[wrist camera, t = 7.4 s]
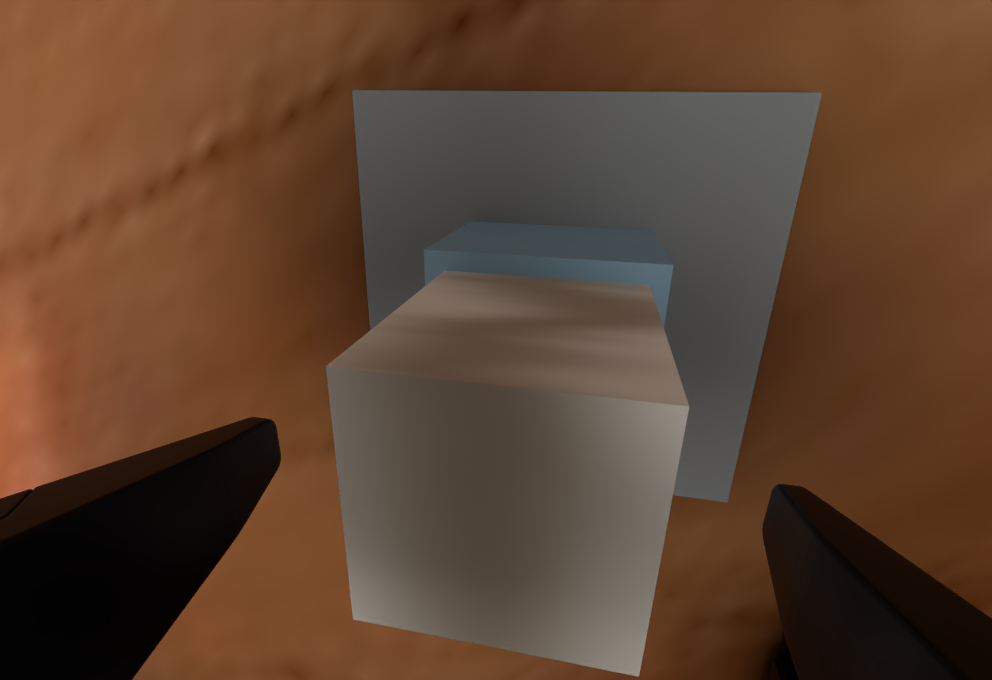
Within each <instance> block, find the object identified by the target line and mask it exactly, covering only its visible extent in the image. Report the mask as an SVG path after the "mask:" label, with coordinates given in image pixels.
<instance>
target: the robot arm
mask: <svg viewBox="0 0 992 680" xmlns="http://www.w3.org/2000/svg"><path fill="white" fill-rule="evenodd" d="M280 461H281V453H280V447H279V440H278V434H277V428H276V425H275V423H274V421H272V420H271V419H265V418H257V417H251V418H247V419H244V420H241V421H238V422H235V423H232V424H229V425H226V426H223V427H220V428H216V429H213V430H210V431H207V432H204V433H201V434H198V435H195V436H192V437H189V438H186V439H183V440H180V441H176V442H173V443H170V444H167V445H164V446H161V447H158V448H155V449H152V450H149V451H146V452H143V453H140V454H137V455H133V456H130V457H127V458H124V459H121V460H118V461H115V462H112V463H109V464H106V465H103V466H100V467H97V468H93V469H90V470H87V471H84V472H81V473H78V474H75V475H72V476H69V477H66V478H63V479H60V480H57V481H53V482H50V483H47V484H44V485H41V486H38V487H36V488H35V489H34V490H32V489H29V490H26V491H22V492H19V493H16V494H13V495H10V496H7V497H4V498H1V499H0V680H132V679H133V678H134V676H135V675H136V674H137V672H138V671H139V670H140V668H141V667H142V665H143V664H144V663H145V661H146V660H147V659H148V657H149V656H150V655H151V653H152V652H153V651H154V649H155V648H156V646H157V645H158V644H159V642H160V641H161V640H162V638H163V637H164V636H165V634H166V633H167V632H168V630H169V629H170V627H171V626H172V625H173V623H174V622H175V621H176V619H177V618H178V617H179V615H180V614H181V612H182V611H183V610H184V608H185V607H186V606H187V604H188V603H189V602H190V600H191V599H192V598H193V596H194V595H195V593H196V592H197V591H198V589H199V588H200V587H201V585H202V584H203V583H204V581H205V580H206V578H207V577H208V576H209V574H210V573H211V572H212V570H213V569H214V568H215V566H216V565H217V564H218V562H219V561H220V559H221V558H222V557H223V555H224V554H225V553H226V551H227V550H228V549H229V547H230V546H231V544H232V543H233V542H234V540H235V539H236V537H237V536H238V534H239V533H240V531H241V530H242V528H243V526H244V525H245V523H246V522H247V520H248V518H249V517H250V515H251V513H252V511H253V510H254V508H255V506H256V505H257V503H258V501H259V500H260V498H261V496H262V495H263V493H264V491H265V490H266V488H267V486H268V485H269V483H270V481H271V480H272V478H273V476H274V475H275V473H276V471H277V470H278V467H279V465H280ZM763 541H764V545H765V550H766V555H767V560H768V564H769V569H770V574H771V578H772V583H773V588H774V592H775V597H776V602H777V606H778V611H779V616H780V620H781V624H782V628H783V631H784V635H785V636H784V640H783V643H782V646H781V649H780V652H779V655H778V656H777V657H776V658H775V659H774V660H773V661H772V665H771V668H770V671H769V674H768V677H767V680H992V618H990V617H989V616H987V615H986V614H984V613H983V612H982V611H980V610H979V609H977V608H976V607H974V606H973V605H972V604H970V603H969V602H967V601H966V600H964V599H963V598H962V597H960V596H959V595H957V594H956V593H954V592H953V591H952V590H950V589H949V588H947V587H946V586H944V585H943V584H942V583H940V582H939V581H937V580H936V579H934V578H933V577H932V576H930V575H929V574H927V573H926V572H924V571H923V570H922V569H920V568H919V567H917V566H916V565H914V564H913V563H912V562H910V561H909V560H907V559H906V558H904V557H903V556H902V555H900V554H899V553H897V552H896V551H894V550H893V549H892V548H890V547H889V546H887V545H886V544H884V543H883V542H882V541H880V540H879V539H877V538H876V537H874V536H873V535H872V534H870V533H869V532H867V531H866V530H864V529H863V528H862V527H860V526H859V525H857V524H856V523H854V522H853V521H852V520H850V519H849V518H847V517H846V516H844V515H843V514H842V513H840V512H839V511H837V510H836V509H834V508H833V507H832V506H830V505H829V504H827V503H826V502H824V501H823V500H822V499H820V498H819V497H817V496H816V495H814V494H813V493H812V492H810V491H809V490H807V489H806V488H804V487H801V486H793V485H785V484H778V485H776V486H775V487H774V488H773V490H772V492H771V496H770V500H769V504H768V507H767V511H766V515H765V518H764V522H763Z"/></svg>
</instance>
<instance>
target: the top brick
mask: <svg viewBox="0 0 992 680" xmlns="http://www.w3.org/2000/svg"><path fill="white" fill-rule="evenodd" d="M326 372H327V381H328V390H329V400H330V409H331V418H332V427H333V437H334V446H335V455H336V464H337V474H338V483H339V492H340V501H341V511H342V520H343V529H344V538H345V548H346V557H347V566H348V576H349V585H350V594H351V603H352V613H353V619H355V620H360V621H365V622H370V623H375V624H379V625H384V626H389V627H394V628H399V629H404V630H409V631H414V632H419V633H424V634H429V635H434V636H439V637H444V638H449V639H454V640H459V641H464V642H469V643H474V644H479V645H484V646H489V647H494V648H499V649H504V650H509V651H514V652H519V653H524V654H529V655H534V656H539V657H544V658H549V659H554V660H559V661H564V662H569V663H574V664H578V665H583V666H588V667H593V668H598V669H603V670H608V671H613V672H618V673H623V674H628V675H633V676H638V677H639V674H640V668H641V663H642V658H643V652H644V647H645V641H646V636H647V631H648V625H649V620H650V615H651V609H652V604H653V599H654V593H655V588H656V583H657V577H658V572H659V566H660V561H661V556H662V550H663V545H664V540H665V534H666V529H667V524H668V518H669V513H670V508H671V502H672V497H673V492H674V486H675V481H676V475H677V470H678V465H679V459H680V454H681V449H682V443H683V438H684V433H685V427H686V422H687V417H688V411H689V404H688V401H687V398H686V395H685V392H684V389H683V386H682V383H681V379H680V376H679V373H678V370H677V367H676V364H675V361H674V358H673V355H672V352H671V349H670V346H669V343H668V340H667V337H666V334H665V330H664V327H663V324H662V321H661V318H660V315H659V312H658V309H657V306H656V303H655V300H654V297H653V294H652V291H651V288H650V285H640V284H626V283H612V282H599V281H585V280H571V279H557V278H544V277H530V276H516V275H502V274H489V273H475V272H461V271H447V270H445V271H443V272H442V273H441V274H440V275H438V276H437V277H436V278H435V279H433V280H432V281H431V282H430V283H429V284H427V285H426V286H425V287H424V288H422V289H421V290H420V291H419V292H417V293H416V294H415V295H414V296H412V297H411V298H410V299H409V300H407V301H406V302H405V303H404V304H403V305H401V306H400V307H399V308H398V309H396V310H395V311H394V312H393V313H391V314H390V315H389V316H388V317H386V318H385V319H384V320H383V321H381V322H380V323H379V324H378V325H376V326H375V327H374V328H373V329H372V330H370V331H369V332H368V333H367V334H365V335H364V336H363V337H362V338H360V339H359V340H358V341H357V342H355V343H354V344H353V345H352V346H350V347H349V348H348V349H347V350H346V351H344V352H343V353H342V354H341V355H339V356H338V357H337V358H336V359H334V360H333V361H332V362H331V363H329V364H328V365H327V366H326Z"/></svg>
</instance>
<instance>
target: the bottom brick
mask: <svg viewBox="0 0 992 680" xmlns="http://www.w3.org/2000/svg"><path fill="white" fill-rule="evenodd" d="M424 269H425V286H426V285H427V284H429V283H430V282H431V281H432V280H433V279H435V278H436V277H437V276H438V275H440V274H441V273H442V272H443V271H445V270H447V271H461V272H475V273H489V274H502V275H516V276H530V277H544V278H557V279H571V280H585V281H599V282H612V283H626V284H640V285H650V288H651V291H652V294H653V297H654V300H655V303H656V306H657V309H658V312H659V315H660V318H661V321H662V324H663V327H664V324H665V318H666V311H667V305H668V298H669V291H670V285H671V278H672V272H673V263H672V261H671V260H670V258H669V256H668V255H667V253H666V251H665V249H664V248H663V246H662V244H661V242H660V241H659V239H658V237H657V235H656V234H655V232H654V230H634V229H614V228H595V227H575V226H555V225H536V224H516V223H496V222H477V221H471V222H469V223H468V224H466V225H464V226H463V227H461V228H459V229H457V230H456V231H454V232H452V233H451V234H449V235H447V236H446V237H444V238H442V239H441V240H439V241H437V242H436V243H434V244H432V245H431V246H429V247H427V248H426V249H424Z"/></svg>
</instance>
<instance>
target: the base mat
mask: <svg viewBox="0 0 992 680" xmlns="http://www.w3.org/2000/svg"><path fill="white" fill-rule="evenodd" d="M352 96H353V109H354V123H355V136H356V149H357V163H358V176H359V190H360V203H361V216H362V230H363V243H364V256H365V270H366V283H367V297H368V310H369V323H370V330H372V329H373V328H374V327H375V326H376V325H378V324H379V323H380V322H381V321H383V320H384V319H385V318H386V317H388V316H389V315H390V314H391V313H393V312H394V311H395V310H396V309H398V308H399V307H400V306H401V305H403V304H404V303H405V302H406V301H407V300H409V299H410V298H411V297H412V296H414V295H415V294H416V293H417V292H419V291H420V290H421V289H422V288H424V287H425V269H424V249H426V248H427V247H429V246H431V245H432V244H434V243H436V242H437V241H439V240H441V239H442V238H444V237H446V236H447V235H449V234H451V233H452V232H454V231H456V230H457V229H459V228H461V227H463V226H464V225H466V224H468V223H469V222H471V221H477V222H496V223H516V224H536V225H555V226H575V227H595V228H614V229H634V230H654V232H655V234H656V235H657V237H658V239H659V241H660V242H661V244H662V246H663V248H664V249H665V251H666V253H667V255H668V256H669V258H670V260H671V261H672V263H673V272H672V278H671V285H670V291H669V298H668V305H667V311H666V318H665V324H664V330H665V334H666V337H667V340H668V343H669V346H670V349H671V352H672V355H673V358H674V361H675V364H676V367H677V370H678V373H679V376H680V379H681V383H682V386H683V389H684V392H685V395H686V398H687V401H688V404H689V411H688V417H687V422H686V427H685V433H684V438H683V443H682V449H681V454H680V459H679V465H678V470H677V475H676V481H675V486H674V492H673V495H675V496H683V497H690V498H697V499H705V500H712V501H719V502H728V498H729V493H730V489H731V485H732V480H733V476H734V472H735V467H736V463H737V459H738V455H739V450H740V446H741V442H742V437H743V433H744V429H745V424H746V420H747V416H748V411H749V407H750V403H751V398H752V394H753V390H754V385H755V381H756V377H757V372H758V368H759V364H760V359H761V355H762V351H763V346H764V342H765V338H766V333H767V329H768V325H769V320H770V316H771V312H772V308H773V303H774V299H775V295H776V290H777V286H778V282H779V277H780V273H781V269H782V264H783V260H784V256H785V251H786V247H787V243H788V238H789V234H790V230H791V225H792V221H793V217H794V212H795V208H796V204H797V199H798V195H799V191H800V186H801V182H802V178H803V173H804V169H805V165H806V161H807V156H808V152H809V148H810V143H811V139H812V135H813V130H814V126H815V122H816V117H817V113H818V109H819V104H820V100H821V96H822V93H795V92H610V91H424V90H352Z"/></svg>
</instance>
